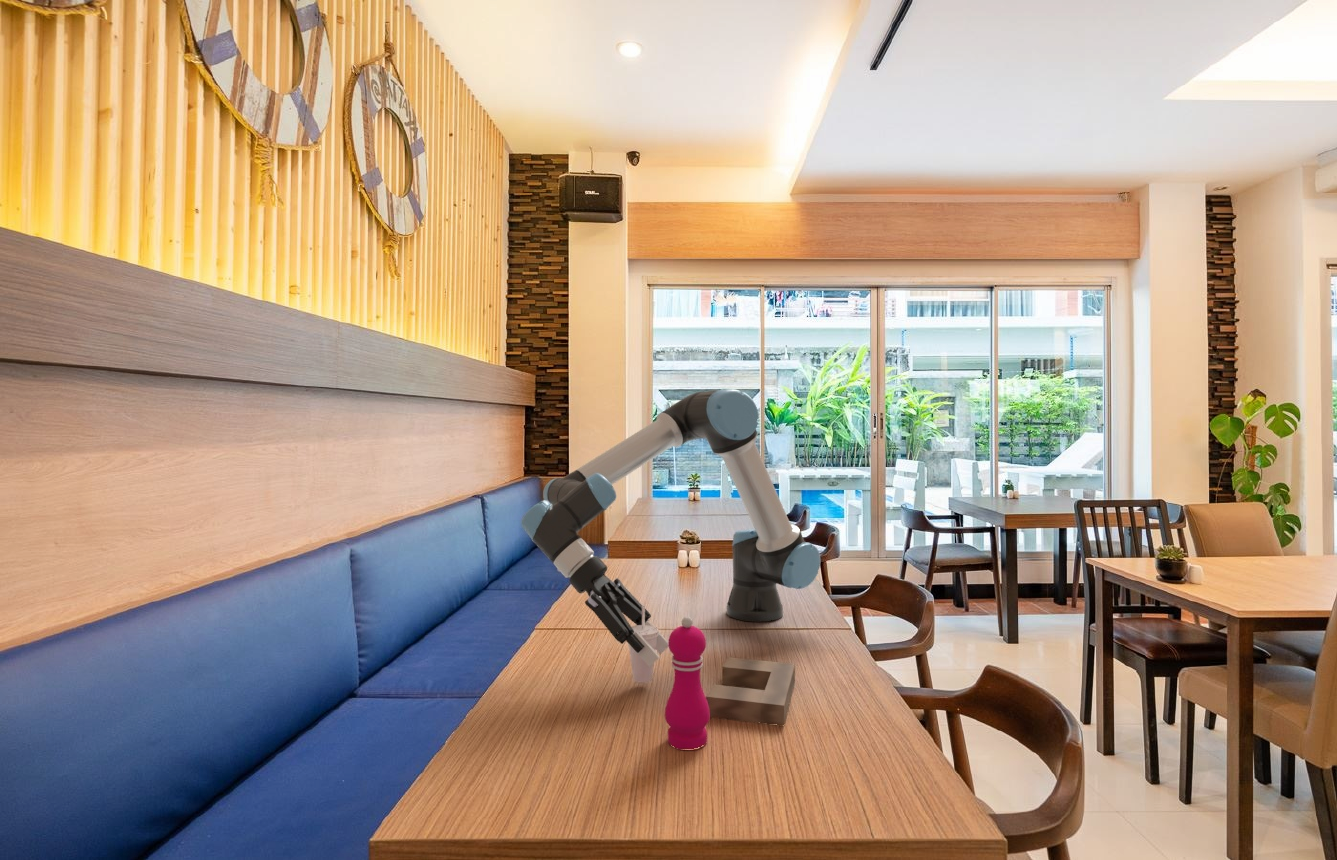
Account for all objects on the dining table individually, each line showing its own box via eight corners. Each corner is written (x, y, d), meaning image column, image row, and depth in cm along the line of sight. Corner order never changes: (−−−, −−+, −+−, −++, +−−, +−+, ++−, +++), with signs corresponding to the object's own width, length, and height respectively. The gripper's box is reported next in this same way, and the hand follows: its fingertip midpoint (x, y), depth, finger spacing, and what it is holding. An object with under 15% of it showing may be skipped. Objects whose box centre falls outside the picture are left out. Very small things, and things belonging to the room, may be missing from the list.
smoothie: (663, 675, 126) (663, 604, 126) (652, 687, 120) (651, 613, 120) (633, 671, 128) (633, 601, 128) (621, 683, 122) (620, 610, 122)
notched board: (706, 716, 111) (705, 696, 111) (727, 674, 130) (727, 657, 131) (784, 726, 108) (784, 705, 108) (794, 681, 127) (794, 663, 127)
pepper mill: (695, 757, 97) (695, 626, 97) (656, 745, 101) (655, 619, 101) (717, 738, 104) (717, 614, 104) (679, 727, 107) (679, 608, 107)
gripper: (588, 569, 138) (661, 651, 133) (547, 591, 119) (630, 687, 115) (611, 545, 136) (686, 628, 132) (573, 564, 118) (658, 661, 113)
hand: (660, 655), depth 123 cm, fingers closed on smoothie, 6 cm apart
